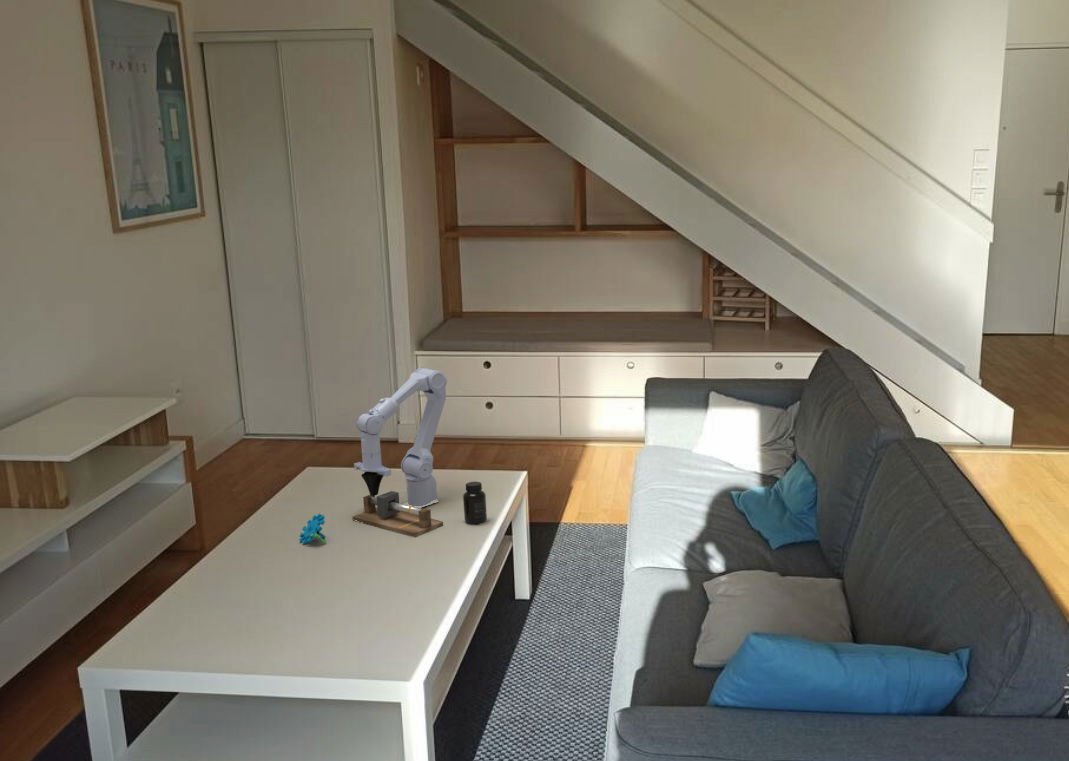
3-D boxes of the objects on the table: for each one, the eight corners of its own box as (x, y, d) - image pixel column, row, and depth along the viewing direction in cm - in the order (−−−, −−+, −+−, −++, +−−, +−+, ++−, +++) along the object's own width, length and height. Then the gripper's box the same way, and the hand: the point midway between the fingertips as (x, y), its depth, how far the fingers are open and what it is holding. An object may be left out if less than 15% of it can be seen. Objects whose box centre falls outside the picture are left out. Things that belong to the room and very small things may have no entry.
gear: (295, 532, 296) (317, 506, 296) (310, 542, 299) (332, 517, 299) (301, 549, 286) (324, 523, 286) (316, 559, 289) (340, 534, 289)
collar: (393, 510, 311) (391, 490, 309) (399, 512, 309) (398, 492, 308) (377, 516, 306) (376, 496, 305) (384, 518, 304) (383, 498, 303)
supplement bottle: (488, 517, 307) (486, 480, 305) (485, 525, 301) (483, 487, 298) (466, 517, 308) (464, 480, 306) (462, 525, 302) (460, 487, 299)
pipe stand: (381, 509, 318) (379, 490, 317) (443, 525, 302) (442, 504, 301) (352, 520, 309) (351, 500, 308) (415, 537, 293) (413, 516, 292)
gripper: (345, 452, 309) (348, 494, 311) (378, 459, 300) (380, 502, 303) (362, 446, 314) (365, 488, 317) (395, 453, 305) (397, 496, 308)
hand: (374, 494), depth 310 cm, fingers closed
